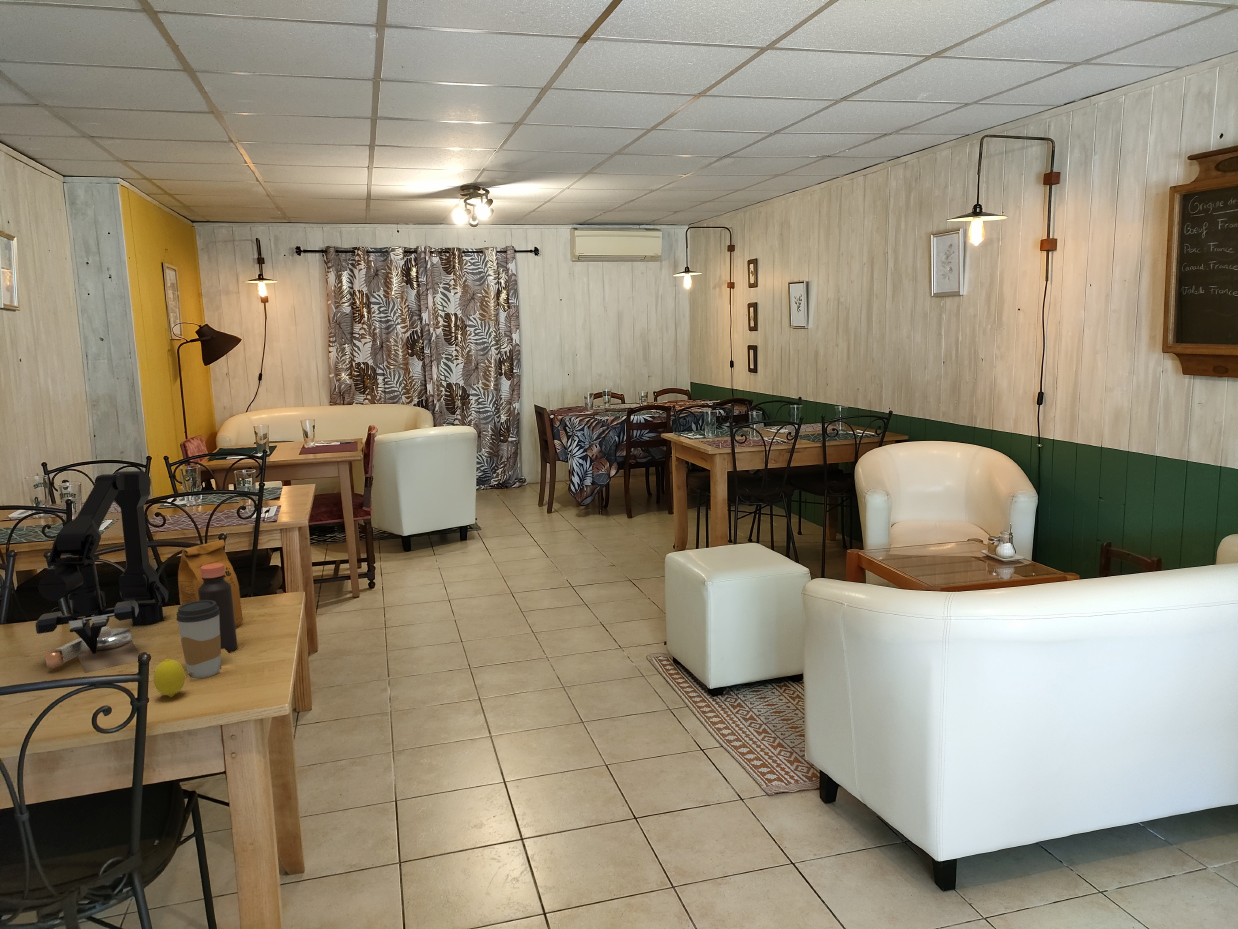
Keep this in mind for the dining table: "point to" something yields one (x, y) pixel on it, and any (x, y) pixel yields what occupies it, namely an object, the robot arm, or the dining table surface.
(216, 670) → the coffee cup
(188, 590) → the coffee package
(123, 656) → the mounting board
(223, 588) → the bottle
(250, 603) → the dining table surface
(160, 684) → the lemon
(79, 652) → the pizza cutter
